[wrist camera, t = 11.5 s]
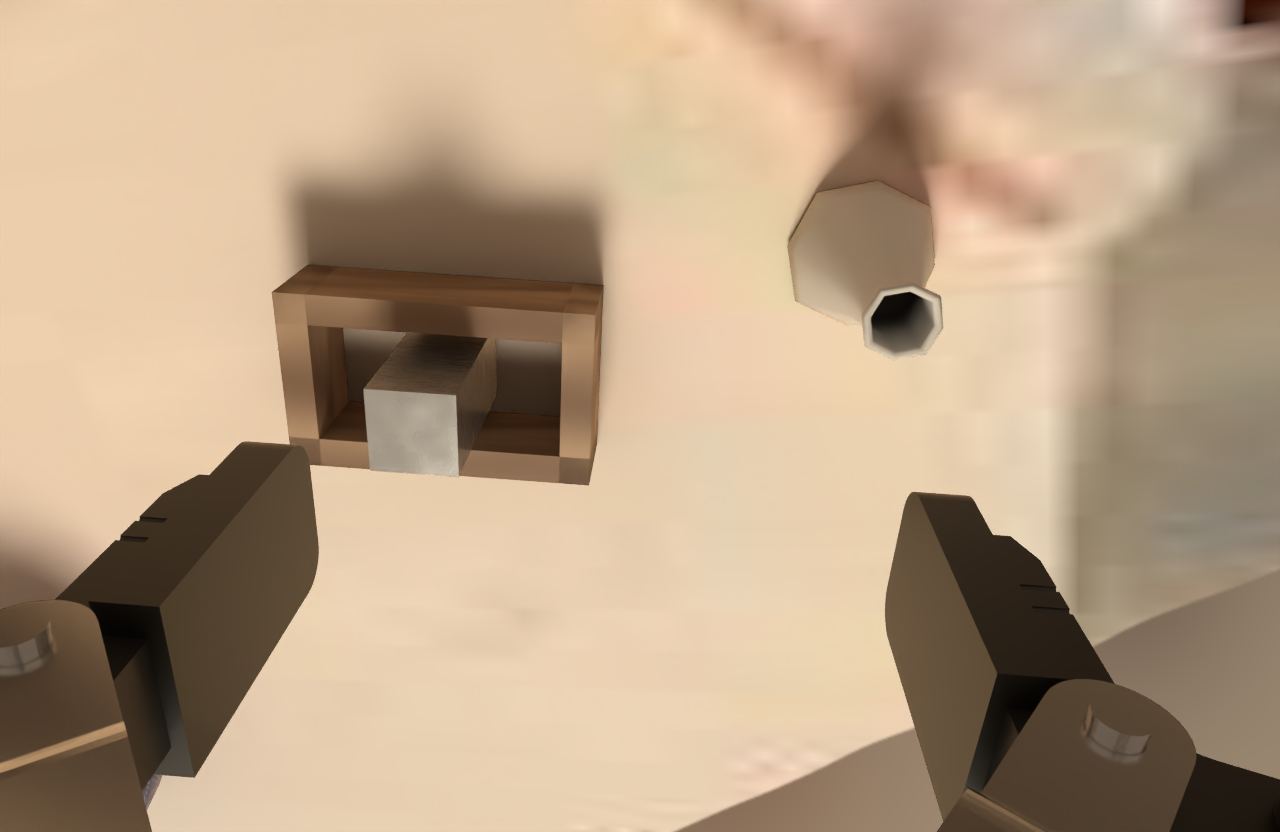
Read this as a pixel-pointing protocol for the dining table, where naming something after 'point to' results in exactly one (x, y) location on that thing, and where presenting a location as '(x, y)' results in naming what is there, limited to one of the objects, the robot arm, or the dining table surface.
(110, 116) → the dining table surface
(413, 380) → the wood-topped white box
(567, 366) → the rectangular wooden frame
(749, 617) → the dining table surface
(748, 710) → the dining table surface
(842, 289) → the flask
